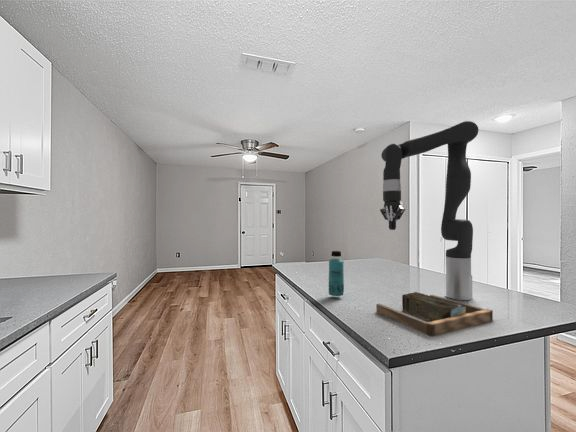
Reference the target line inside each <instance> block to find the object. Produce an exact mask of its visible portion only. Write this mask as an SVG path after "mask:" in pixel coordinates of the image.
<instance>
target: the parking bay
mask: <svg viewBox="0 0 576 432" xmlns="http://www.w3.org/2000/svg"><path fill="white" fill-rule="evenodd" d="M429 296H432V297H435V298H439V299H442V300H445V301H449V302H452V303H455V304H460V305H462V306H465V307H466V314H463V315H459V316H454V317H450V318H445V319H441V320H436V321H426V320H423V319H420V318H418V317H416V316H413V315H410V314H407V313H405V312H404V311H399V310H398V309H394V308H392V307H389V306H388V305H385V304H382V303H376V314H379V315H381V316H384V317H386V318H388V319H391V320H393V321H395V322H398V323H400V324H402V325H404V326H407V327H409V328H411V329H414V330H416V331H419V332H421V333H423V334H425V335H427V336H429V337H433V336H434V337H435V336H438V335H441V334H446V333H449V332H453V331H458V330H461V329H465V328H469V327H474V326H476V325H481V324H484V323H488V322H493V320H494V318H493V315H494V313H493V312H494V311H493V310H492V309H489V308H482V307H479V306H478V307H477V306H474V305H470V304H467V303H463V302H461V301H457V300H454V299H451V298H447V297H442V296H438V295H435V294H430V295H429Z"/></svg>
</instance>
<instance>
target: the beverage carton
mask: <svg viewBox="0 0 576 432" xmlns="http://www.w3.org/2000/svg"><path fill="white" fill-rule="evenodd" d="M401 297H402V298H401V301H402V306H401V308H402V311H403V312H406V313H409V314H412V315H415V316H417V317H420V318H423V319H426V320H427V321H430V322H432V321H436V320H441V319H445V318H450V317H454V316H459V315H463V314H466V307H465V306H462V305H460V304H455V303H452V302H449V301H445V300H442V299H439V298H435V297H432V296H430V295H427V294H424V293H421V292H417V291H414V292H409V293H405V294H402V295H401Z"/></svg>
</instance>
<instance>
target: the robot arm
mask: <svg viewBox="0 0 576 432" xmlns="http://www.w3.org/2000/svg"><path fill="white" fill-rule="evenodd" d="M478 134H479V126H478V125H477V124H476V122H474V121H471V120H464V121H462V122H459V123H457V124H454V125H452V126H450V127H448V128H445V129H442V130H440V131H437V132H434V133H430V134H425V135H423V136H419V137H415V138H412V139H409V140H406V141H404V142H402V143H399V144H397V143H391V144H389V145H387V146H386V147H385V148H384V149H382V152H381V158H382V160H383V162H384V163H385V165H384V168H383V174H382V175H383V176H382V178H383V179H382V181H383V182H382V201H383V202H384V204H383V208H380V210H379V211H380V213H381V215H382V216H383V219H384V220H386V221H388V229H389V230H390V231H392V230H393V231H394V230H396V229H397V222H398V220H399V221H400V220H401V218H402V216H403V214H404V213H405V211H406V208H405V207H402V204H401V201H402V184H401V165H402V159H403V160H404V159H405V158H409V157H414V156H417V155H421V154H424V153H427V152H429V151H432V150H434V149H436V148H440V147H442V146H446V145H447V166H446V167H447V168H446V177H445V196H444V206H443V207H444V208H443V213H442V217H441V218H442V219H441V226H440V233H441V237H442V238H443V240H445V241H453V242H454V241H455V242H457V244H456V246H455V247H452V248H448V249H446V250H445V292H446V293H445V296H446V298H448V299H451V300H455V301H457V300H458V301H470V300H472V298H473V275H472V252H473V242H474V241H473V237H474V227H473V223H472V222H471V221H470V220H469V219H459V218H457V212H458V209H459V207H460V206H461V204H462V202H463V201H464V200H465V199H466V198H467V196H468V194H469V193H470V190H471V186H472V184H471V183H472V171H471V169H470V166H469V164H468V161H467V146H468V144H469V143H470V142H472V141H473V140H474V139H476V137H477V136H478ZM456 218H457V219H456Z"/></svg>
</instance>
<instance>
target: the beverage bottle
mask: <svg viewBox="0 0 576 432" xmlns="http://www.w3.org/2000/svg"><path fill="white" fill-rule="evenodd" d="M331 256H332V257H334V258H331V259H330V260H329V261H328V287H327V288H328V295H329V296H332V297H342V296H343V295H344V292H345V291H344V290H345V281H344V280H345V278H344V277H345V274H344V260H343V259H342V258H335V257H342V252H341V251H340V250H332V251H331Z"/></svg>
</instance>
